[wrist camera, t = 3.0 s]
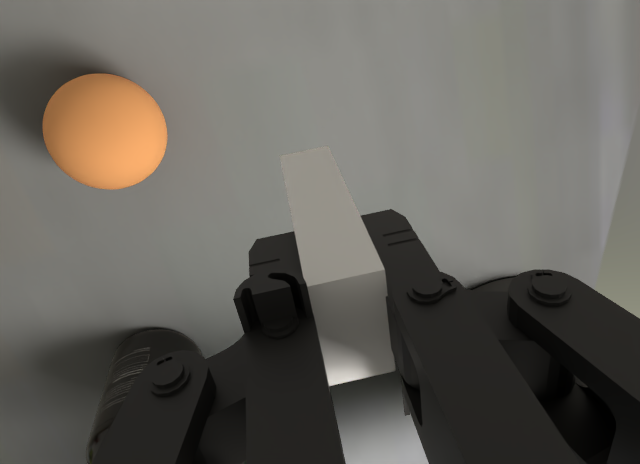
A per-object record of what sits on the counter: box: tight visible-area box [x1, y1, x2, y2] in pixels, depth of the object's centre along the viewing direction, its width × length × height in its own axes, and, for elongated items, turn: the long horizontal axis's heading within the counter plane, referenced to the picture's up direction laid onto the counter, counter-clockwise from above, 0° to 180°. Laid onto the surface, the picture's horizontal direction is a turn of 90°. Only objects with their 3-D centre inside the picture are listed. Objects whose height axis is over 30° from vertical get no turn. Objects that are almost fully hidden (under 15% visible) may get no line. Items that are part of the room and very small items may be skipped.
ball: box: [43, 74, 167, 189], centre depth 25 cm, size 6×6×6 cm
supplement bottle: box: [86, 329, 202, 464], centre depth 32 cm, size 7×7×12 cm
